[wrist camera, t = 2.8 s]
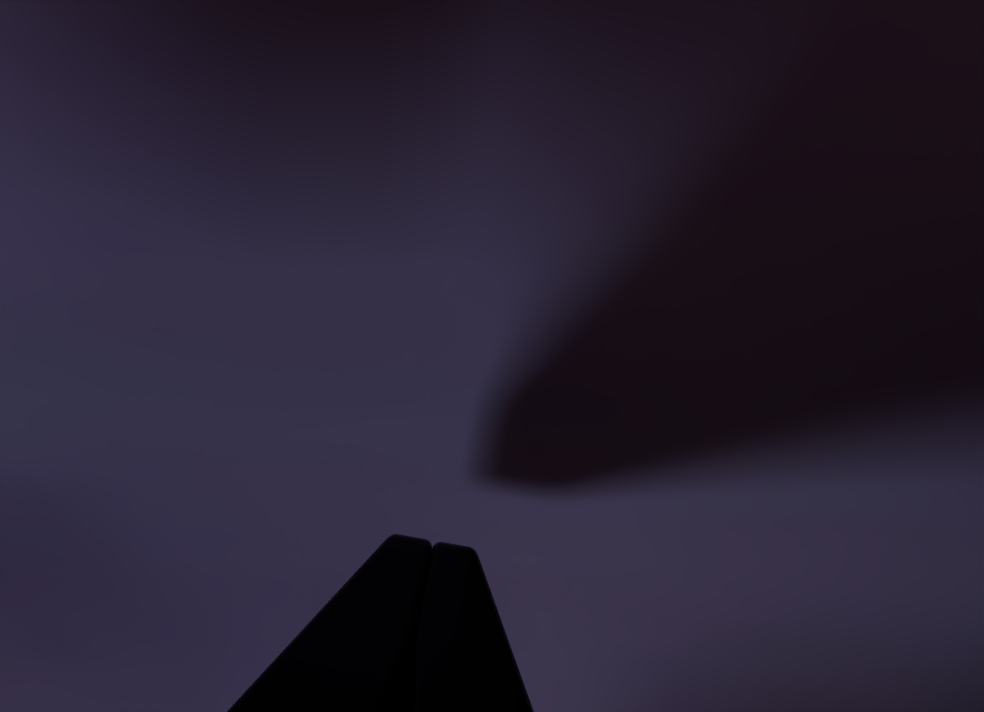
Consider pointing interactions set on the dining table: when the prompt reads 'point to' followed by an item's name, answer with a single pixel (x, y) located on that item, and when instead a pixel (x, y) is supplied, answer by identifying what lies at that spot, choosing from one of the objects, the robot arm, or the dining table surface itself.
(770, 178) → the dining table surface
